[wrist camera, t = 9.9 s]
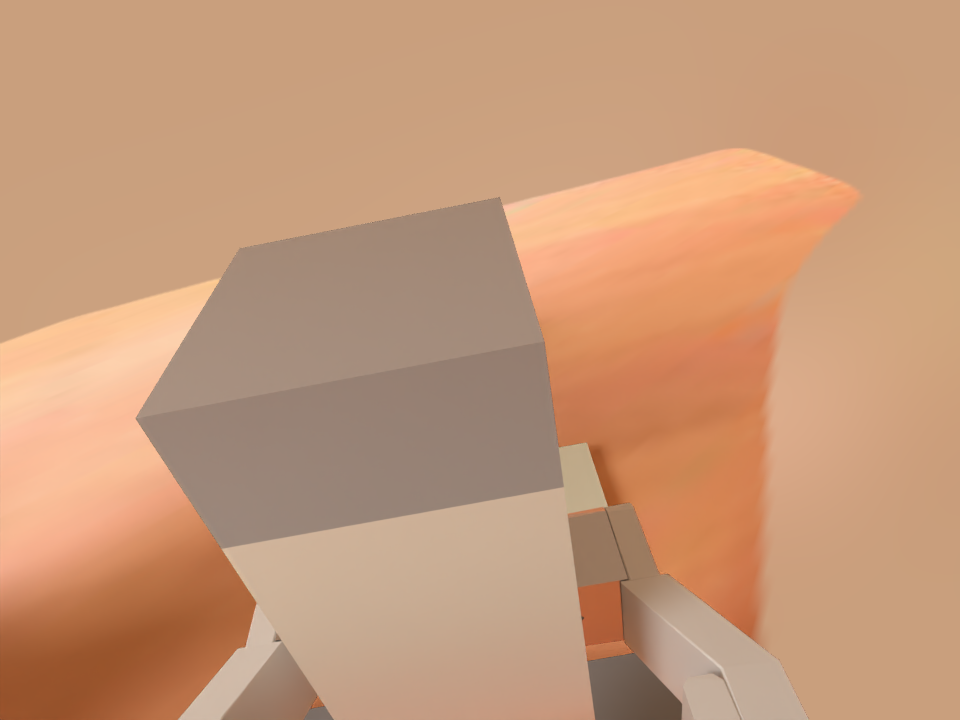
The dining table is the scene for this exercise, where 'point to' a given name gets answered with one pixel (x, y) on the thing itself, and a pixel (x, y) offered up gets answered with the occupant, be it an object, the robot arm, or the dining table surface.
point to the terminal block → (612, 692)
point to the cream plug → (387, 466)
